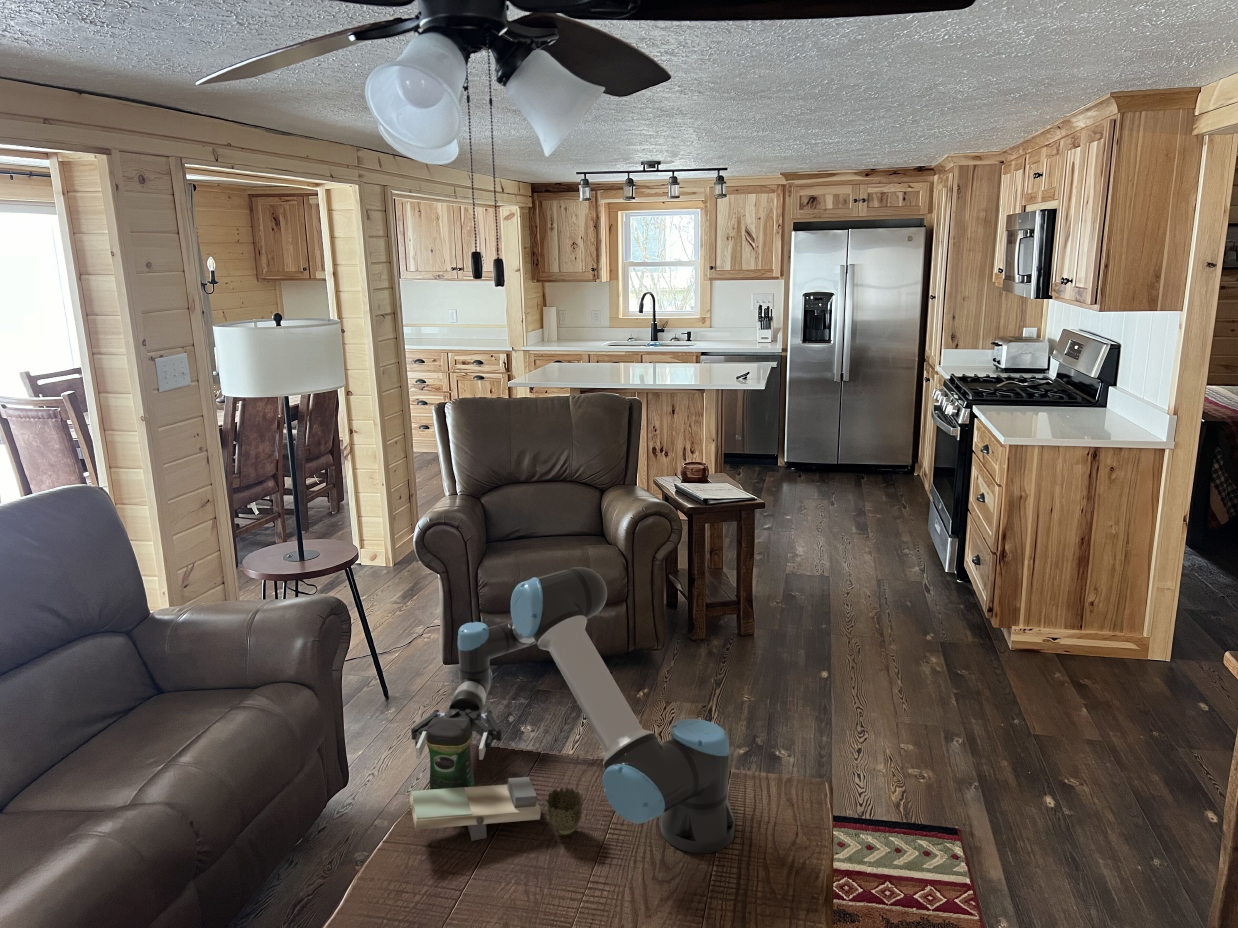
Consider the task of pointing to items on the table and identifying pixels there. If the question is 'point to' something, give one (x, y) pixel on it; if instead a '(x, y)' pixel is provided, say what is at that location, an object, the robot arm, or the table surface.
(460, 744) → the coffee jar
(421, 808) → the beam
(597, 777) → the table surface
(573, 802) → the cup
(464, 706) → the robot arm
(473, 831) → the beam stand
